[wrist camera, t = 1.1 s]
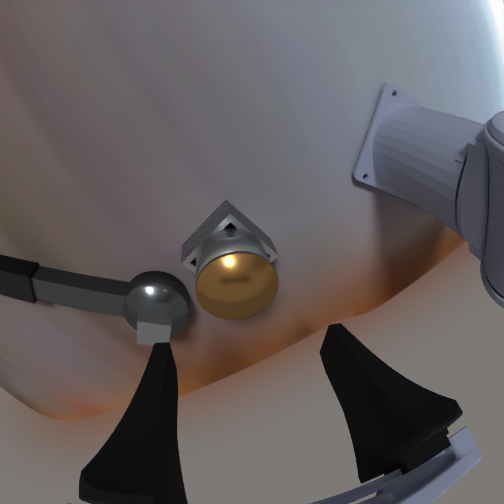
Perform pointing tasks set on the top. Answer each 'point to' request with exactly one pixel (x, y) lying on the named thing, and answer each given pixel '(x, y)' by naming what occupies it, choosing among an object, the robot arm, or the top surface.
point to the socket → (231, 264)
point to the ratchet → (104, 296)
